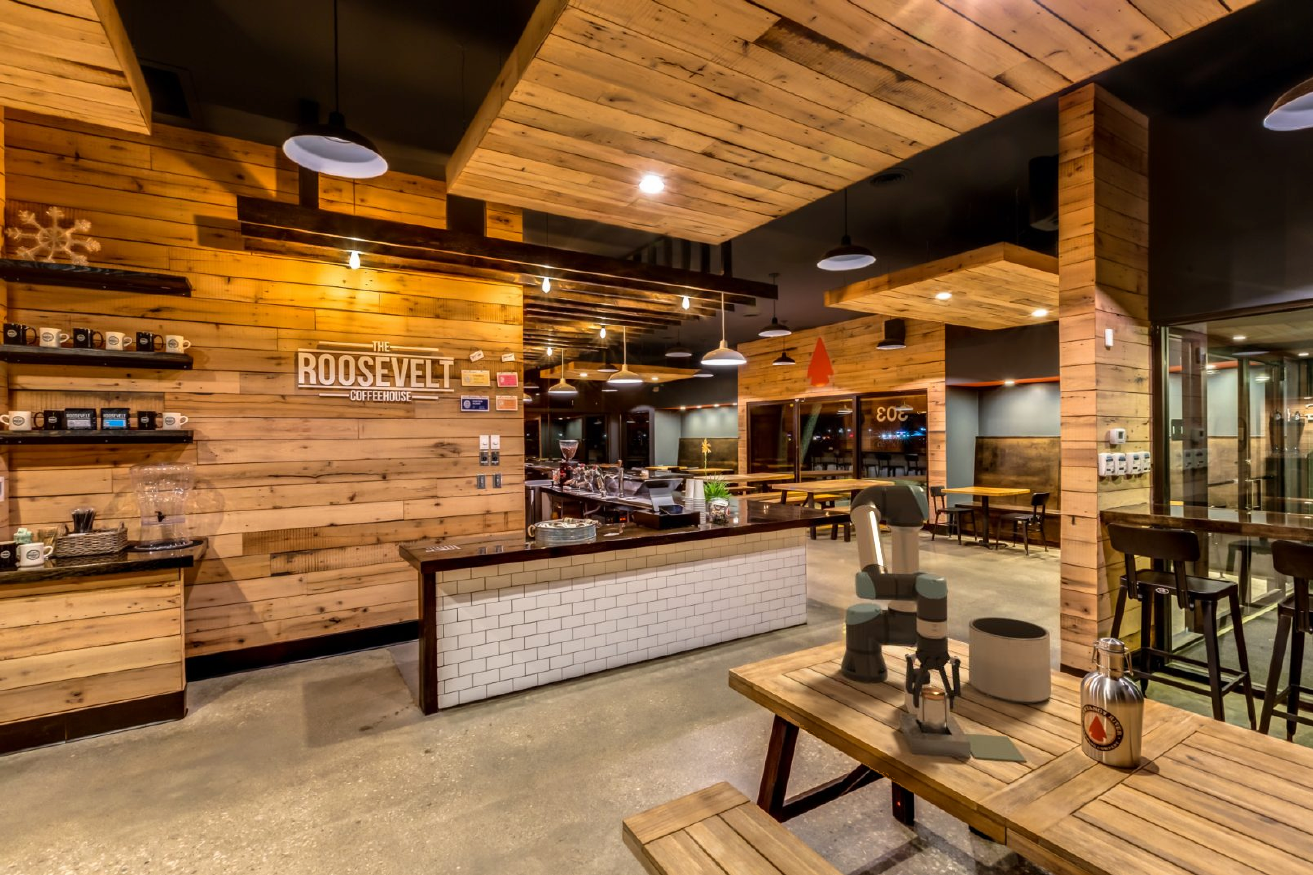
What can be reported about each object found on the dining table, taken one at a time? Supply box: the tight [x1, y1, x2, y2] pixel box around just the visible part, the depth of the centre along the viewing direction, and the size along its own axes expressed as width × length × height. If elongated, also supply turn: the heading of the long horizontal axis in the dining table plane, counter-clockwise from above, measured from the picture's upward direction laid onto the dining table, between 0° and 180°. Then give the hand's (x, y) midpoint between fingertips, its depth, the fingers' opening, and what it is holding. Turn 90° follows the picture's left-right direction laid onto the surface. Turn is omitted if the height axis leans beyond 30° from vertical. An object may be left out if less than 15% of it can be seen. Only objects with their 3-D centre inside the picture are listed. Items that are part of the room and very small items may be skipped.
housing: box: [899, 712, 972, 759], centre depth 160 cm, size 14×14×4 cm
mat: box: [964, 733, 1028, 763], centre depth 157 cm, size 12×12×1 cm
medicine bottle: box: [903, 666, 932, 714], centre depth 179 cm, size 7×7×12 cm
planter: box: [968, 616, 1052, 705], centre depth 191 cm, size 23×23×20 cm
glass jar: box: [921, 686, 946, 735], centre depth 160 cm, size 6×6×13 cm
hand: (933, 720), depth 160 cm, fingers closed on glass jar, 6 cm apart
